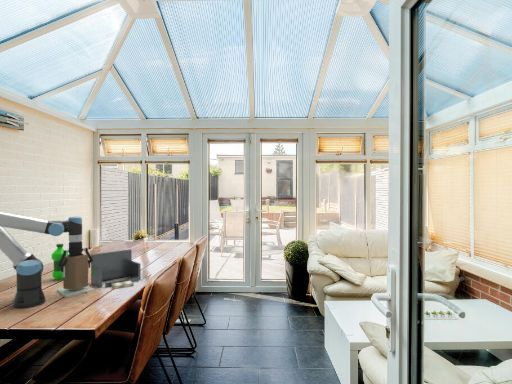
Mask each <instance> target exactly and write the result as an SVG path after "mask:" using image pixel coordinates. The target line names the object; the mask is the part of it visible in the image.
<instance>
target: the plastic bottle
mask: <svg viewBox="0 0 512 384" xmlns="http://www.w3.org/2000/svg"><path fill="white" fill-rule="evenodd" d="M63 247H64V243H57V244H56V249H55V250H54V251H53V252H52V253H51V260H53V271H52V274H51V276H52V277H53V278H54V279H55V280H56V281H59V280H61V279H62V280H63V272H61V267H60V266H57V264H58V262H59V260H60V258H61V256H62V254H63V250H65V249H64V248H63ZM68 255H69V253H68V252H67V254H66V255H65V256H68ZM62 263H63V261H62ZM62 263H61V264H62Z"/></svg>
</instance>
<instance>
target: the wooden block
mask: <svg viewBox="0 0 512 384" xmlns="http://www.w3.org/2000/svg"><path fill="white" fill-rule="evenodd" d="M66 259H67V263H66V264H65V265H64V266H65V277H63V279H62V281H63V283H62V288H64V289H71V290H77V289H80V288H83V287H86V286H88V285H89V273H88V260H89V258H88V255H87V254H83V255H79V256H72V257H68V256H65V257H64V259H63V261H64V260H66Z"/></svg>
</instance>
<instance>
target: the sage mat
mask: <svg viewBox="0 0 512 384" xmlns="http://www.w3.org/2000/svg"><path fill="white" fill-rule="evenodd" d="M94 290H96V289H95V288H93V287H92V286H90V285H89V284H88V286H86V287H83V288H80V289H77V290H71V289H64V288H63V287H60V288H57V289H56V292H58V293H59V294H60V295H61V296H63V297H64V298H69V297H74V296H79V295H84V294H87V293H88V292H90V291H94Z"/></svg>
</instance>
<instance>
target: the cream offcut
mask: <svg viewBox="0 0 512 384" xmlns="http://www.w3.org/2000/svg"><path fill="white" fill-rule="evenodd" d="M133 285H134V282H131V281H125V282H119V283H113V284H111V288H112V289H114V290H118V289H122V288H128V287H134V286H133ZM117 288H118V289H117Z"/></svg>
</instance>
